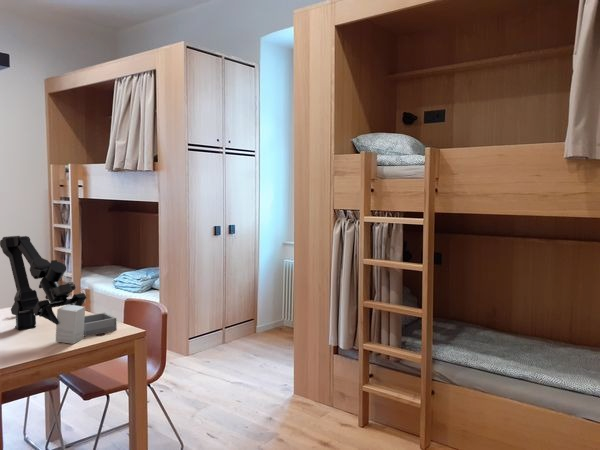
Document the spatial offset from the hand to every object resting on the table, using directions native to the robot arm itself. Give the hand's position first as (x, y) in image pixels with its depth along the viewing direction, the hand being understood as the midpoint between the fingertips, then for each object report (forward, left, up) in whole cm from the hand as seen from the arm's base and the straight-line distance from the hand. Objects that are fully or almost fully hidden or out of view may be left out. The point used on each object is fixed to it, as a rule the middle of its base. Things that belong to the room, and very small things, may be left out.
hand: (69, 321), depth 188 cm
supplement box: (0, +1, -8) cm, 8 cm away
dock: (+13, +9, -8) cm, 17 cm away
